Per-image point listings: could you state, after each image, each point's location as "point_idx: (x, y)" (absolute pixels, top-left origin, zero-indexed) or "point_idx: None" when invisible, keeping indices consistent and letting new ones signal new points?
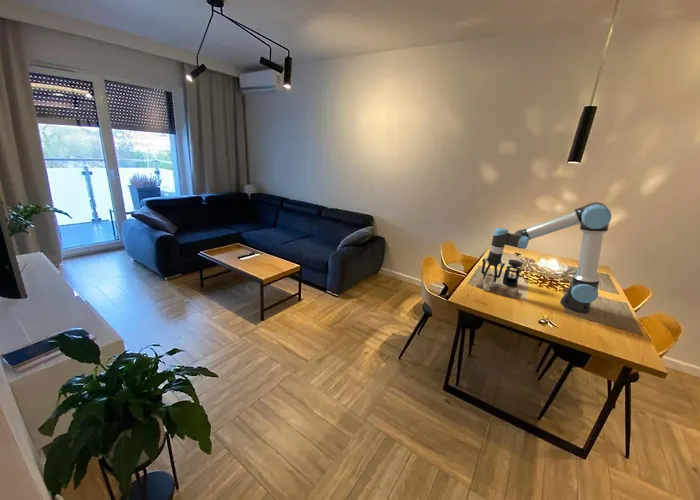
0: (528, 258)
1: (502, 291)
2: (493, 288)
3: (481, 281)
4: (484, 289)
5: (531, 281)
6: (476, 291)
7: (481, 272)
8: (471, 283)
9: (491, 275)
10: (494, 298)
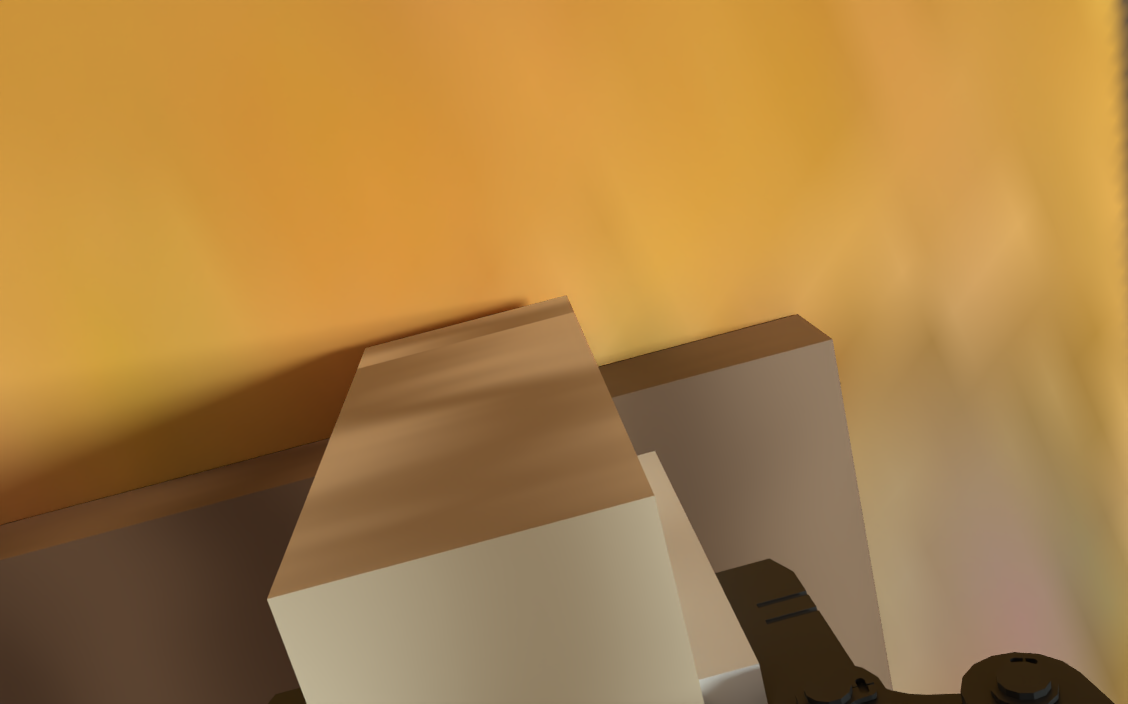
0: None
1: (29, 622)
2: None
3: None
4: (511, 311)
5: None
6: (644, 26)
7: (1057, 674)
8: (1004, 444)
9: None
10: (3, 66)
